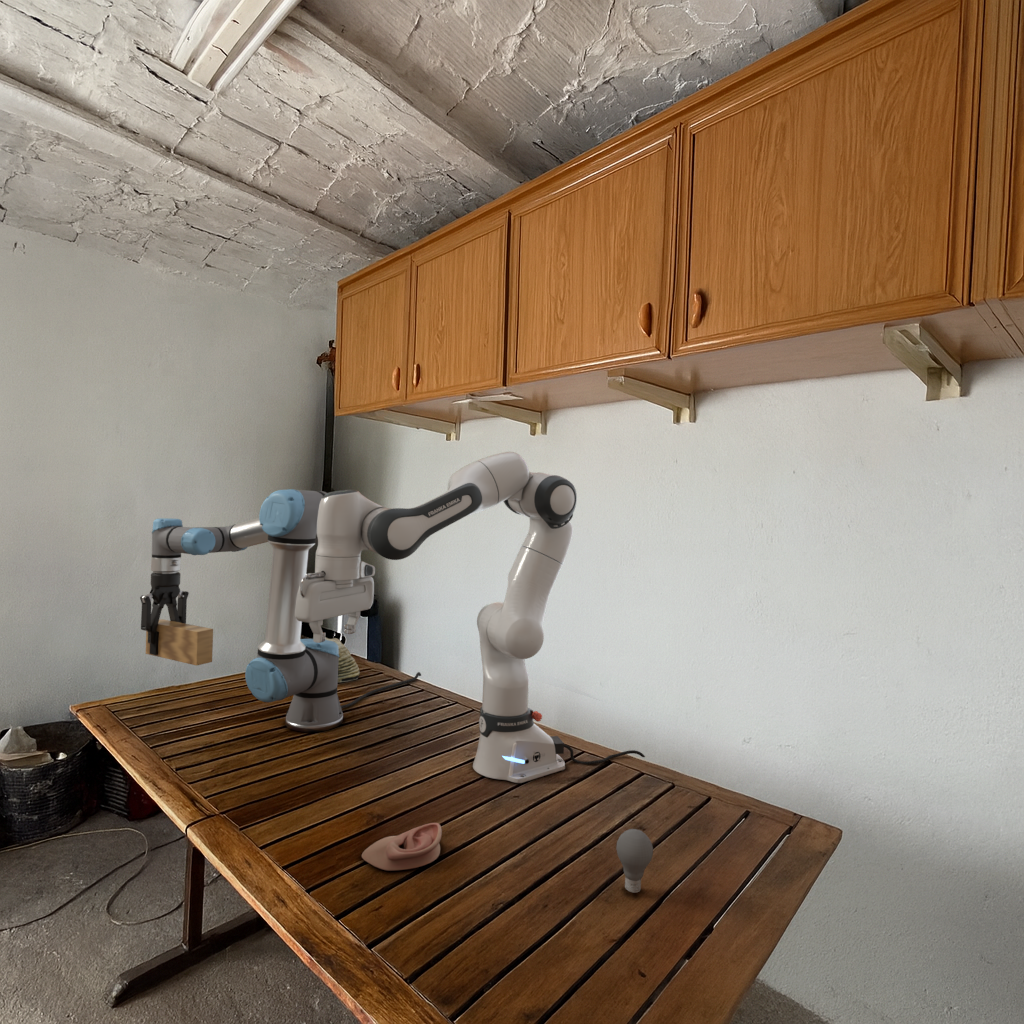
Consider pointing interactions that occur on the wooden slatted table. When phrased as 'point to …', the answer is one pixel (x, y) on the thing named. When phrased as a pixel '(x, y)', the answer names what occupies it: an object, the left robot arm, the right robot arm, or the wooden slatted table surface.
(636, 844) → the light bulb
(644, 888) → the wooden slatted table surface
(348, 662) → the fossil
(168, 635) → the bar
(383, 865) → the anatomical model
